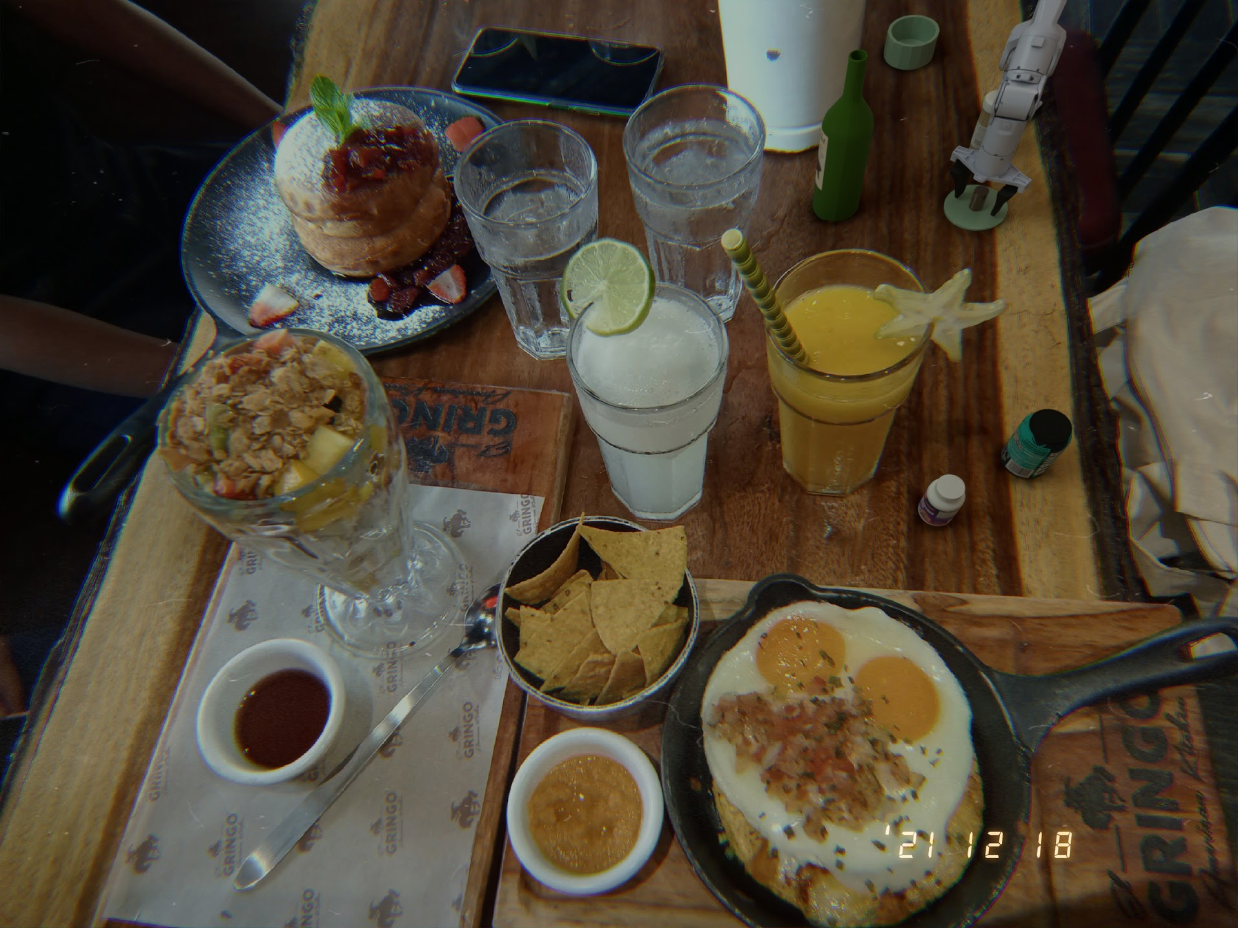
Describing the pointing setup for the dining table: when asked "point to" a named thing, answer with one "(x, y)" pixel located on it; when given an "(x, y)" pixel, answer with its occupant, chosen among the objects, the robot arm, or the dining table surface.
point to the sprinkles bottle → (983, 121)
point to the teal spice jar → (1036, 443)
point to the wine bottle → (844, 147)
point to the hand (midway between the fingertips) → (976, 203)
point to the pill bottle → (942, 500)
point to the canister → (911, 42)
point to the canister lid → (974, 208)
